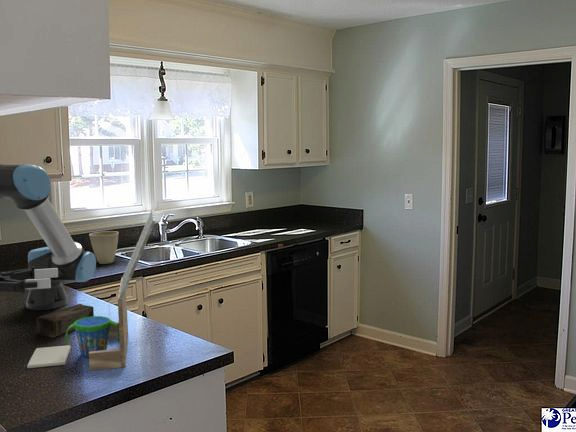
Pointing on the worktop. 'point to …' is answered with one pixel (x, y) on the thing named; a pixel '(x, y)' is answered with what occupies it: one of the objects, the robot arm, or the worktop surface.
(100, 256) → the plant pot
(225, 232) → the worktop surface
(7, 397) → the worktop surface
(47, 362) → the paving slab
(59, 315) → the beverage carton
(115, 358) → the tan tall piece
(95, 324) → the snack cup
